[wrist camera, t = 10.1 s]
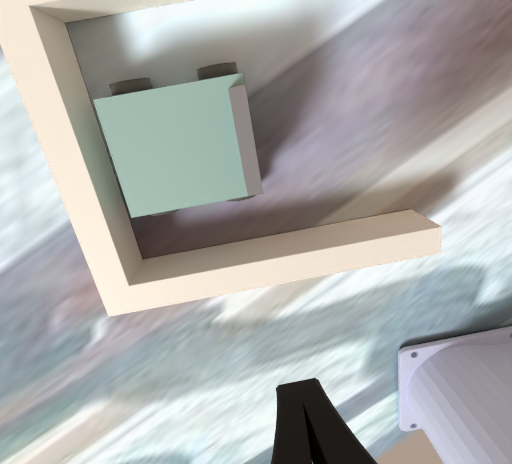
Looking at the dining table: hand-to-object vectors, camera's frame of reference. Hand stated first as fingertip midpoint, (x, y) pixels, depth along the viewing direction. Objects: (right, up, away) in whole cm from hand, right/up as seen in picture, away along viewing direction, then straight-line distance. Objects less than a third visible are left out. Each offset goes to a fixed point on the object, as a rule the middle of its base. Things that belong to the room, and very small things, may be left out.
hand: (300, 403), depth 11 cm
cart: (-5, +10, +6) cm, 13 cm away
